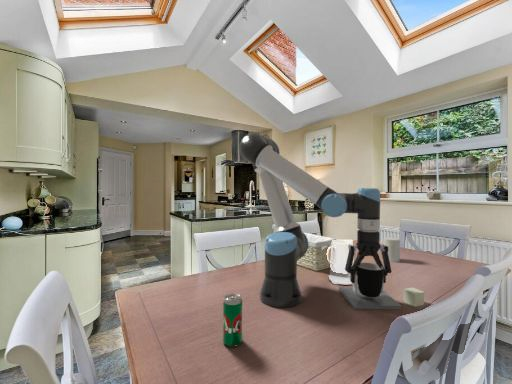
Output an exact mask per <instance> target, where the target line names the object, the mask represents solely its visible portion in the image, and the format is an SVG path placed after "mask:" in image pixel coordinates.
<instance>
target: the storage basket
mask: <svg viewBox="0 0 512 384" xmlns="http://www.w3.org/2000/svg"><path fill="white" fill-rule="evenodd" d="M303 233H304V234H305V235H306V237H307V239H308V249H307V251H306V253H305V255H304V256H303V257H302V258H300V259H299V260H298V261H297V266H300V267H302V268H306V269H309V270H312V271H317V272H318V271H321V270H325V269H329V268H331V267H330V264H329V262H328V260H327V255H326V253H327V249H328V247H329V246H330V245H331V242H332V240H337V239H336V238H332V237H328V236H323V235H317V234H314V233H313V234H312V233H308V232H303Z"/></svg>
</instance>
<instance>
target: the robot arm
mask: <svg viewBox="0 0 512 384" xmlns="http://www.w3.org/2000/svg"><path fill="white" fill-rule="evenodd" d="M238 150H239V153H240V155H241V157H242V158H243V159H244V160H245V161H247V162H248V163H250V164H252V167H253V170H254V172H255V173H257V174H259V179H260V181H261V184H262V188H263V191H264V193H265V197H266V201H267V204H268V208H269V210H270V211H269V212H270V214H271V217H272V220H273V224H274V227H275V228H274V230H273V232H272V233H269V234H268V235H267V236H266V237H265V241H264V279H263V282H262V284H261V287H260V291H259V299H260V301H261V302H262V303H263V304H266V305H268V306H270V307H274V308H291V307H296V306H297V305H299V304H300V303H301V302H302V291H301V288H300V284H299V281H298V278H297V277H298V276H297V272H298V271H297V269H298V267H297V266H298V265H297V261H298V260H299V259H300V258H302V257H303V256H304V255H305V253H306V251H307V249H308V239H307V237H306V235H305V234H304V233H305V232H303V230H302V227H301V224H300V223H299V222H296V220H295V218H294V217H295V216H294V214H293V211H292V207H291V205H290V201H289V198H288V194H287V192H286V189H285V185H287V186H288V187H290V188H291V189H293V191H295V192H297V193H298V194H299V195H301V196H303V197H304V198H305V199H306V200H308V201H310V202H312V203H313V204H314V205H316V207H318V208H319V209H320V210H322V212H323V213H324V215H326V216H327V217H330V218H339V217H341V216H342V215H343V214H357V223H356V224H357V230H356V232H357V234H356V236H357V239H356V241H357V242H356V244H352V245H351V244H349V245H348V254H347V258H346V261H345V262H346V263H345V267H344V270H345V272H347V273H348V274H349V281H350V282H351V284H352V287H353V291H354V292H355V293H357V287H358V283H357V280H358V275H357V266H359V265H360V263H362V262H363V259H365V257H369V256H370V257H373V261H374V262H375V264H377V265H378V266H379V267H380V268H381V266H383V268H384V275H383V284H382V290H381V293H383V291H384V284H386V282H387V279H386V277H387V276H388V274H391V273H392V267H391V262H390V261H389V256H388V246H385V245H383V244H382V245H381V244H380V241H381V237H380V236H381V233H380V229H381V192H380V191H381V190H380V189H378V188H377V187H369V188H368V187H367V188H366V187H360V188H358V189H357V192H355V193H354V192H353V193H347V192H346V193H345V192H342V193H341V192H337V191H335V190H334V189H332V188H331V187H330V186H328V185H327V184H325V183H323V182H322V181H320V180H319V179H317V178H315V177H314V176H312V175H310V174H309V173H308V172H307V171H305V170H303V169H302V168H300V167H299V166H298V165H296V164H294V163H293V162H291V161H289V160H288V159H287V158H285V157H283V156H282V155H281V154H280V148H279V146H278V144H277V143H276V142H275V141H274V140H273V139H272V138H269V137H267V136H264V135H262V134H260V133H254V132H252V133H248V134H246V135H245V136H243V138H241V141H240V143H239V149H238ZM284 184H285V185H284ZM356 250H358V252H357V255H356V257H355V254H356V253H355V252H356ZM379 250H380V252H381V257H382V260H381V258H380V255H379V253H378V252H379ZM354 258H355V259H354ZM382 261H383V262H382Z"/></svg>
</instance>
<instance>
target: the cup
mask: <svg viewBox="0 0 512 384" xmlns="http://www.w3.org/2000/svg"><path fill="white" fill-rule="evenodd" d="M382 245H385V246H388V256H389V261H390V263H391V262H392V263H398V262H399V263H400V259H401V255H400V254H401V253H400V252H401V251H400V249H401V248H400V246H401V239H400V238H397V237H387V236H385V237H383V244H382Z"/></svg>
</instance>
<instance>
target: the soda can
mask: <svg viewBox="0 0 512 384" xmlns="http://www.w3.org/2000/svg"><path fill="white" fill-rule="evenodd" d="M242 342H243V299H242V296H241V295H240V294H238V293H230V294H227V295H225V296H224V299H223V301H222V343H223V344H224V345H225V344H226V345H228V346H227V347H229V346H235V345H238V344H239V345H241V343H242ZM226 345H225V346H226ZM239 345H238V346H239ZM235 347H236V346H235Z"/></svg>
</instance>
